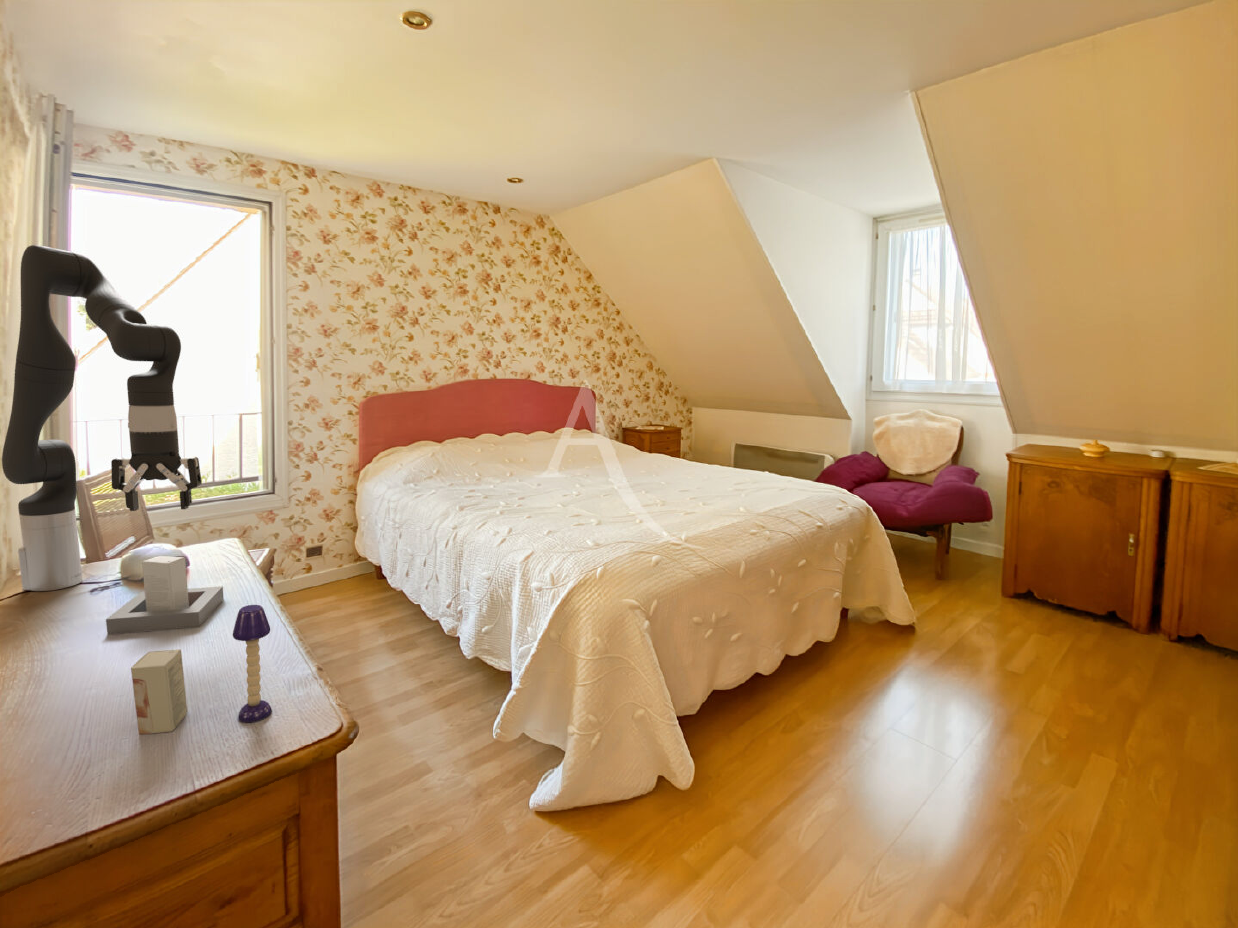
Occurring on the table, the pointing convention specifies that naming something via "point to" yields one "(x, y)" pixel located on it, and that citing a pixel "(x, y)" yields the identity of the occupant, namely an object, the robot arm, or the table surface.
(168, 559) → the skincare box
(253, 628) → the toy lamp
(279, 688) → the table surface
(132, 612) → the socket block
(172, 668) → the skincare box
